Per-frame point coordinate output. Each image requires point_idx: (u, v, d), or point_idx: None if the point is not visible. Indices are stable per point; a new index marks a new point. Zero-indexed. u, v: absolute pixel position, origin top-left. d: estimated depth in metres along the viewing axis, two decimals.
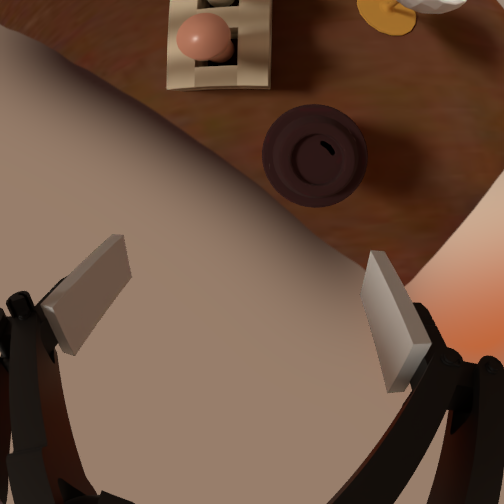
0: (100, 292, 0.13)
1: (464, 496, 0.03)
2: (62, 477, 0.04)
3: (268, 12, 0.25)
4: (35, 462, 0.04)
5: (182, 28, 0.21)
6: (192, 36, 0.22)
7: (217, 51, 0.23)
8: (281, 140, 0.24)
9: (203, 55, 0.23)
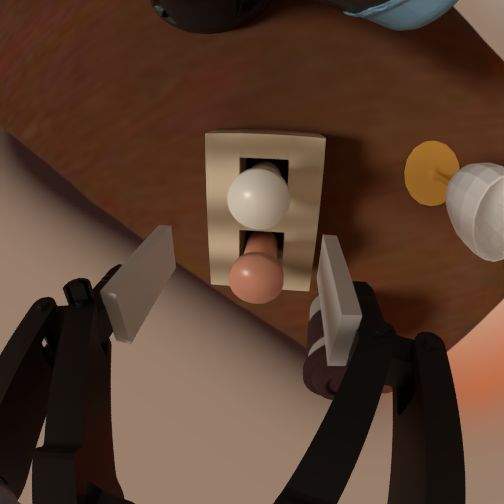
0: (152, 280, 0.14)
1: (423, 478, 0.04)
2: (91, 480, 0.04)
3: (317, 217, 0.31)
4: (65, 464, 0.04)
5: (234, 271, 0.28)
6: (245, 281, 0.28)
7: (271, 299, 0.29)
8: (320, 374, 0.30)
9: (257, 300, 0.29)
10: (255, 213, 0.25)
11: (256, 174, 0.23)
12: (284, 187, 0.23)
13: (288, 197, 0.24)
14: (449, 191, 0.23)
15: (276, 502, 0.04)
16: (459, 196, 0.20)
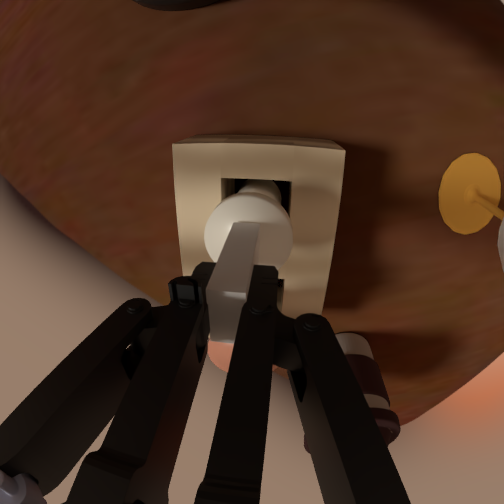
0: None
1: (341, 465, 0.05)
2: (141, 497, 0.04)
3: (329, 259, 0.22)
4: (118, 481, 0.04)
5: None
6: (230, 353, 0.20)
7: None
8: None
9: None
10: None
11: (244, 204, 0.16)
12: (285, 223, 0.16)
13: (290, 236, 0.17)
14: None
15: (199, 490, 0.04)
16: None
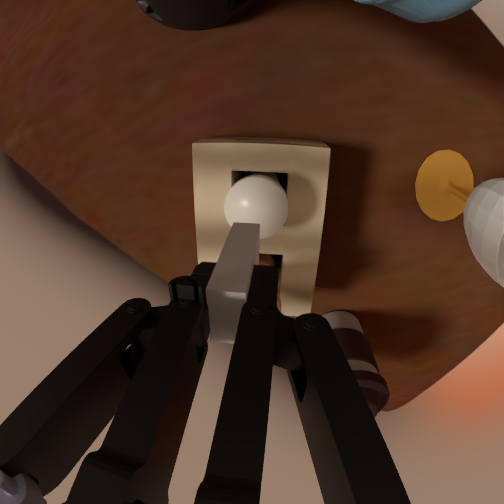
0: None
1: (341, 465, 0.05)
2: (141, 497, 0.04)
3: (320, 238, 0.27)
4: (118, 481, 0.04)
5: None
6: None
7: None
8: None
9: None
10: (253, 222, 0.24)
11: (253, 182, 0.23)
12: (282, 195, 0.23)
13: (287, 206, 0.23)
14: (469, 210, 0.20)
15: (199, 490, 0.04)
16: (482, 217, 0.17)
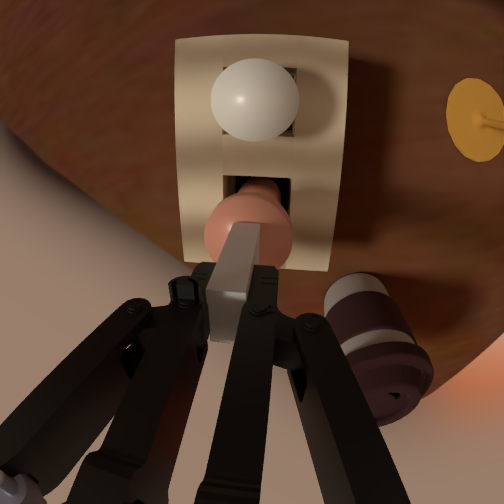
0: None
1: (341, 465, 0.05)
2: (141, 497, 0.04)
3: (341, 154, 0.19)
4: (118, 481, 0.04)
5: (213, 222, 0.17)
6: None
7: None
8: None
9: None
10: (250, 118, 0.16)
11: (251, 64, 0.14)
12: (291, 80, 0.15)
13: (297, 94, 0.15)
14: None
15: (199, 490, 0.04)
16: None
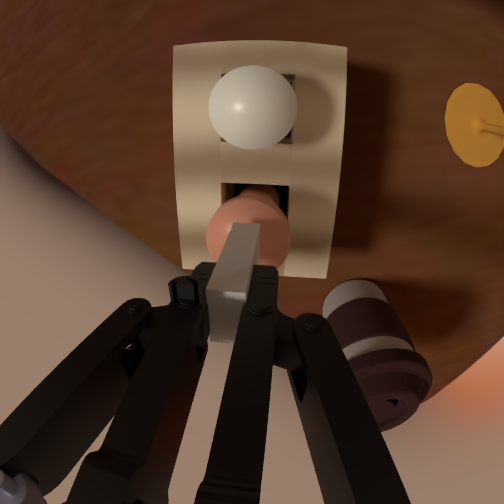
0: None
1: (341, 465, 0.05)
2: (141, 498, 0.04)
3: (339, 162, 0.19)
4: (118, 481, 0.04)
5: (214, 224, 0.18)
6: None
7: None
8: None
9: None
10: (248, 125, 0.16)
11: (249, 71, 0.15)
12: (289, 87, 0.15)
13: (295, 101, 0.15)
14: None
15: (199, 490, 0.04)
16: None
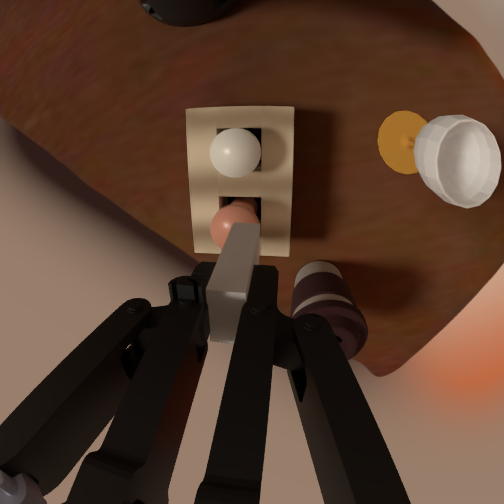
0: None
1: (341, 465, 0.05)
2: (141, 497, 0.04)
3: (291, 181, 0.32)
4: (118, 481, 0.04)
5: (215, 221, 0.31)
6: (225, 230, 0.31)
7: None
8: None
9: None
10: (232, 164, 0.29)
11: (232, 131, 0.28)
12: (255, 141, 0.28)
13: (258, 149, 0.28)
14: (415, 145, 0.25)
15: (199, 490, 0.04)
16: (422, 145, 0.22)
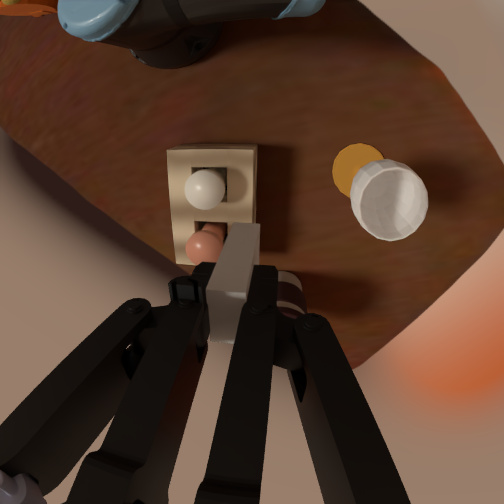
0: None
1: (341, 465, 0.05)
2: (141, 498, 0.04)
3: (251, 210, 0.41)
4: (118, 481, 0.04)
5: (189, 243, 0.39)
6: (196, 250, 0.40)
7: None
8: None
9: None
10: (202, 199, 0.38)
11: (201, 174, 0.36)
12: (219, 181, 0.36)
13: (222, 188, 0.37)
14: (351, 185, 0.33)
15: (199, 490, 0.04)
16: (353, 188, 0.30)
